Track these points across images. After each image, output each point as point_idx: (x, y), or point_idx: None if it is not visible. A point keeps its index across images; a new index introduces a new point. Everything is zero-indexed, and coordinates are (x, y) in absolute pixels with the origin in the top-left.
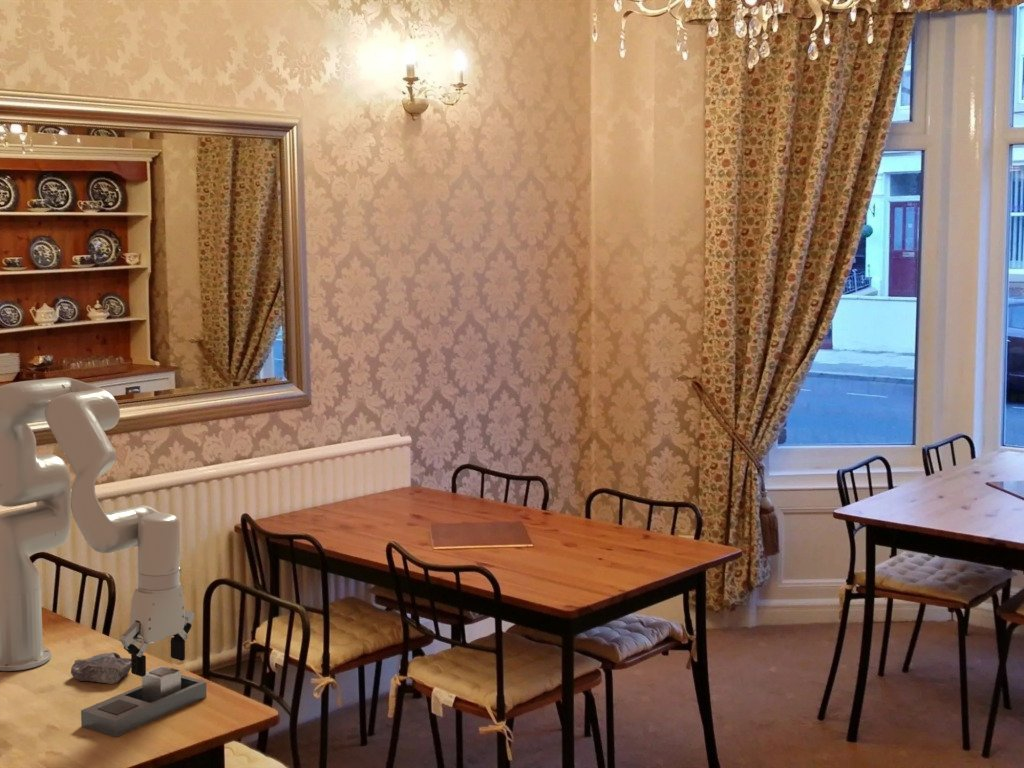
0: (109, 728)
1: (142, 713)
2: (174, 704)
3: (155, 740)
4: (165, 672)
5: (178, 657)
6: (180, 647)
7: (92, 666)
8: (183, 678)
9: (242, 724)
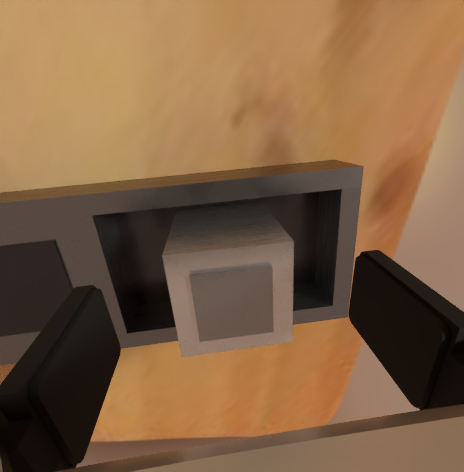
0: None
1: None
2: None
3: None
4: (232, 331)
5: (357, 308)
6: (391, 368)
7: None
8: (337, 243)
9: (255, 434)
